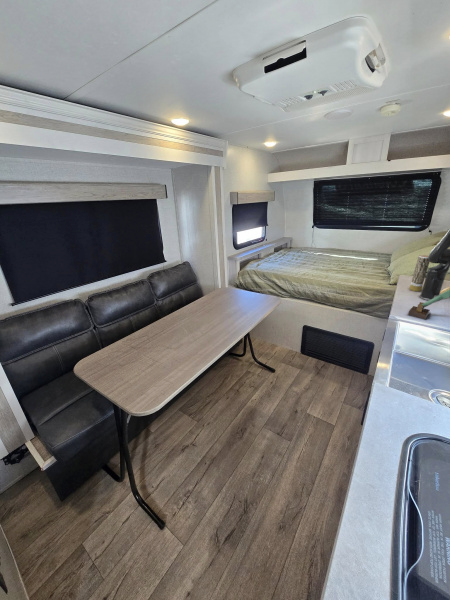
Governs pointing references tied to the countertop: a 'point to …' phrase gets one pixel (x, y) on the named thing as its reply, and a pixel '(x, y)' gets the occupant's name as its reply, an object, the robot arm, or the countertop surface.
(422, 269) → the bark textured cylinder
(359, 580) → the countertop surface
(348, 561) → the countertop surface
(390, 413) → the countertop surface
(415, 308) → the brush stand
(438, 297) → the brush
